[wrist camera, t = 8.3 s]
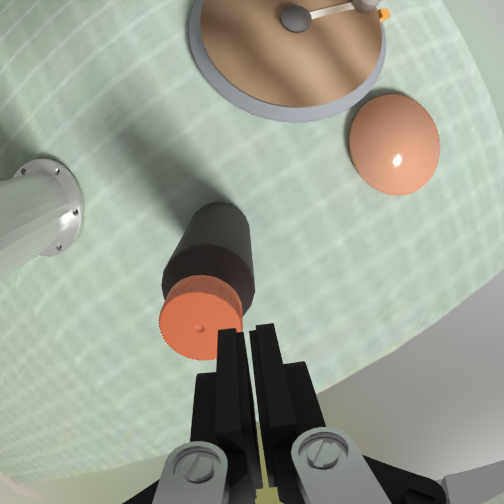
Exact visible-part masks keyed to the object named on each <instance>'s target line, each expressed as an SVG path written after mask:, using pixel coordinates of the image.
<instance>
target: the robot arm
mask: <svg viewBox="0 0 504 504" xmlns="http://www.w3.org/2000/svg"><path fill="white" fill-rule="evenodd" d="M59 171H60V172H59ZM77 210H78V211H77ZM83 220H84V204H83V197H82V194H81V190H80V188H79V185H78V183H77V181H76V179H75V178H74V176H73V175H72V173H71V172H70V171H69V170H68V169H67V168H66V167H65V166H63V165H62V164H60V163H59V162H57V161H54V160H52V159H45V158H42V159H36V160H32V161H29V162H27V163H25V164H24V165H22V166H21V167H20V168H19V169H18V170H17V171H16V173H15V174H14V176H13V177H12V178H11V179H7V180H4V181H1V182H0V283H1V282H2V281H3V280H5V279H6V278H7V277H9V276H10V275H11V274H12V273H14V272H15V271H16V270H18V269H19V268H21V267H22V266H23V265H25V264H26V263H27V262H29V261H30V260H32V259H33V258H34V257H36V256H37V255H40V256H48V257H51V256H56V255H59V254H61V253H63V252H64V251H66V250H67V249H68V248H70V247H71V246H72V244H73V243H74V242H75V241H76V239H77V238H78V236H79V234H80V231H81V229H82V225H83ZM249 334H250V343H251V352H252V361H253V370H254V379H255V387H256V396H257V405H258V413H259V422H260V429H261V436H262V443H263V450H264V456H265V463H266V470H267V476H268V483H269V487H277V490H278V496H279V500H280V501H281V502H282V503H284V504H504V461H499V462H496V463H493V464H490V465H486V466H483V467H479V468H476V469H472V470H468V471H464V472H460V473H456V474H452V475H447V476H445V477H444V478H443V479H441V480H436V481H434V480H432V479H430V478H426V477H423V476H420V475H417V474H414V473H411V472H408V471H405V470H402V469H399V468H396V467H393V466H391V465H388V464H385V463H382V462H380V461H377V460H374V459H372V458H369V457H366V456H364V455H361V453H360V451H359V449H358V448H357V446H356V444H355V443H354V441H353V440H352V438H351V437H350V436H349V435H348V434H347V433H345V432H343V431H342V430H339V429H335V428H332V427H326V425H325V422H324V419H323V416H322V412H321V409H320V406H319V403H318V400H317V397H316V394H315V390H314V387H313V384H312V381H311V378H310V375H309V372H308V369H307V366H306V363H305V362H304V361H302V362H295V363H289V364H283V362H282V357H281V353H280V349H279V344H278V340H277V336H276V332H275V327H274V324H273V323H271V324H263V325H256V330H253V331H249ZM261 488H263V483H262V474H261V465H260V456H259V447H258V438H257V428H256V419H255V409H254V400H253V393H252V386H251V379H250V373H249V366H248V359H247V352H246V345H245V338H244V332H237V330H236V328H229V329H220V330H218V340H217V368H216V372H212V373H199V374H197V376H196V384H195V394H194V404H193V414H192V425H191V437H190V442H189V443H186V444H183V445H181V446H179V447H177V448H175V449H174V450H173V451H172V452H171V453H170V454H169V456H168V458H167V460H166V462H165V465H164V468H163V471H162V474H161V477H160V479H159V480H157V481H156V482H155V483H153V484H152V485H150V486H149V487H147V488H146V489H144V490H143V491H141V492H140V493H138V494H137V495H135V496H134V497H132V498H131V499H129V500H128V501H126V502H124V503H123V504H255V499H256V498H257V497H256V489H261Z"/></svg>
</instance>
